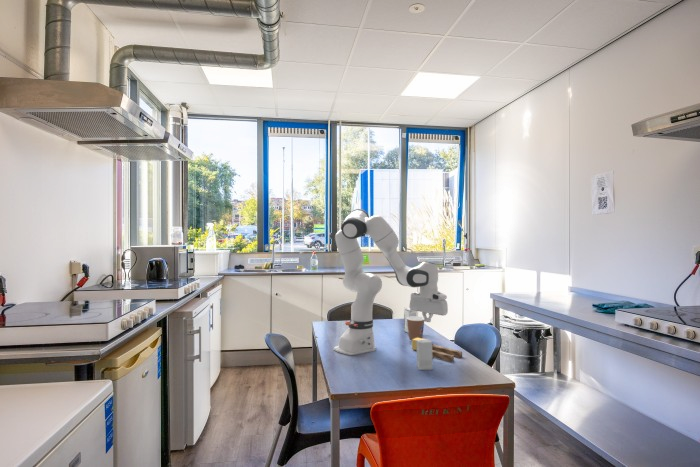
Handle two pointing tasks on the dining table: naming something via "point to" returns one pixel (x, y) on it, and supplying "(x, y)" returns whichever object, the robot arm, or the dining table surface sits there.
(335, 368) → the dining table surface
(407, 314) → the syrup box
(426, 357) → the skincare box
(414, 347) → the ochre block
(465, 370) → the dining table surface
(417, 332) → the coffee cup
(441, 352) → the chute
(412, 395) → the dining table surface
